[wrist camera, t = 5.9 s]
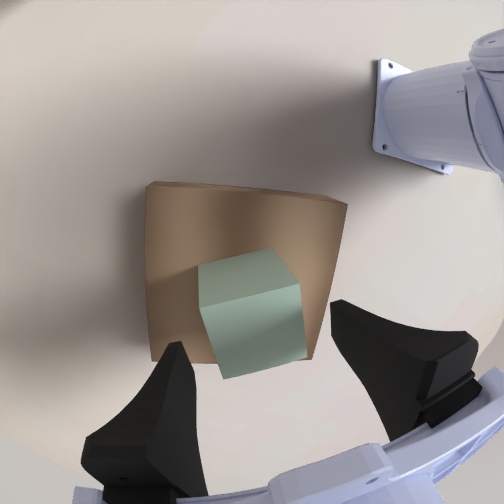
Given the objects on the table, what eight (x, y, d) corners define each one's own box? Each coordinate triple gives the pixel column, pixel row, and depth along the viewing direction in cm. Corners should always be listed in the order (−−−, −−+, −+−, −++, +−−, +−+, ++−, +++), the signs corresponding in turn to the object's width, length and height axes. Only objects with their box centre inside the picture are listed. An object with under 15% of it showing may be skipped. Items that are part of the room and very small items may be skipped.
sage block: (272, 247, 17) (299, 283, 12) (282, 310, 19) (307, 357, 14) (198, 265, 17) (199, 308, 12) (216, 326, 18) (223, 379, 14)
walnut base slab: (327, 196, 20) (347, 204, 17) (299, 337, 24) (311, 359, 21) (154, 181, 17) (146, 186, 15) (155, 337, 21) (151, 361, 18)
